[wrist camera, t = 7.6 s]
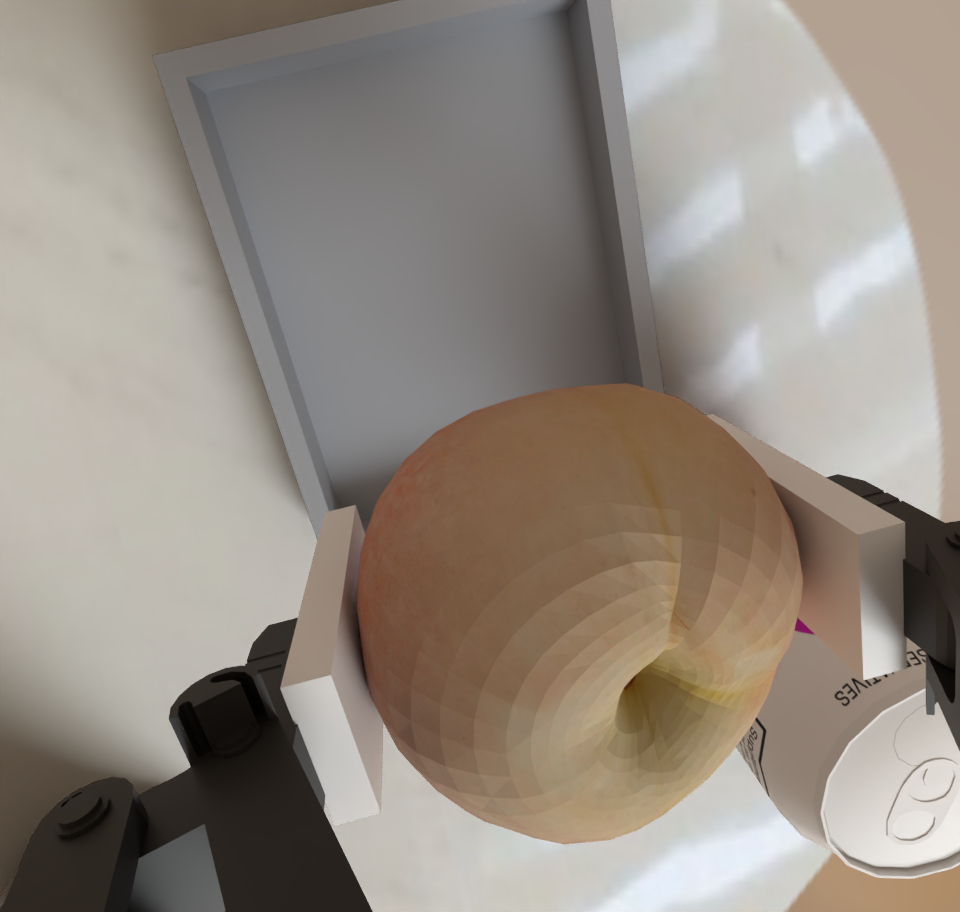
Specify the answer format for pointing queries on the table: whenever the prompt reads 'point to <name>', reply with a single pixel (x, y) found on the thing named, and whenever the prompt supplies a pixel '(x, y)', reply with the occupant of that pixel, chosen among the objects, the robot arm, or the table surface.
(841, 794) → the supplement can
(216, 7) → the table surface
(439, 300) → the tray
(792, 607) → the fruit
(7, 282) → the table surface
